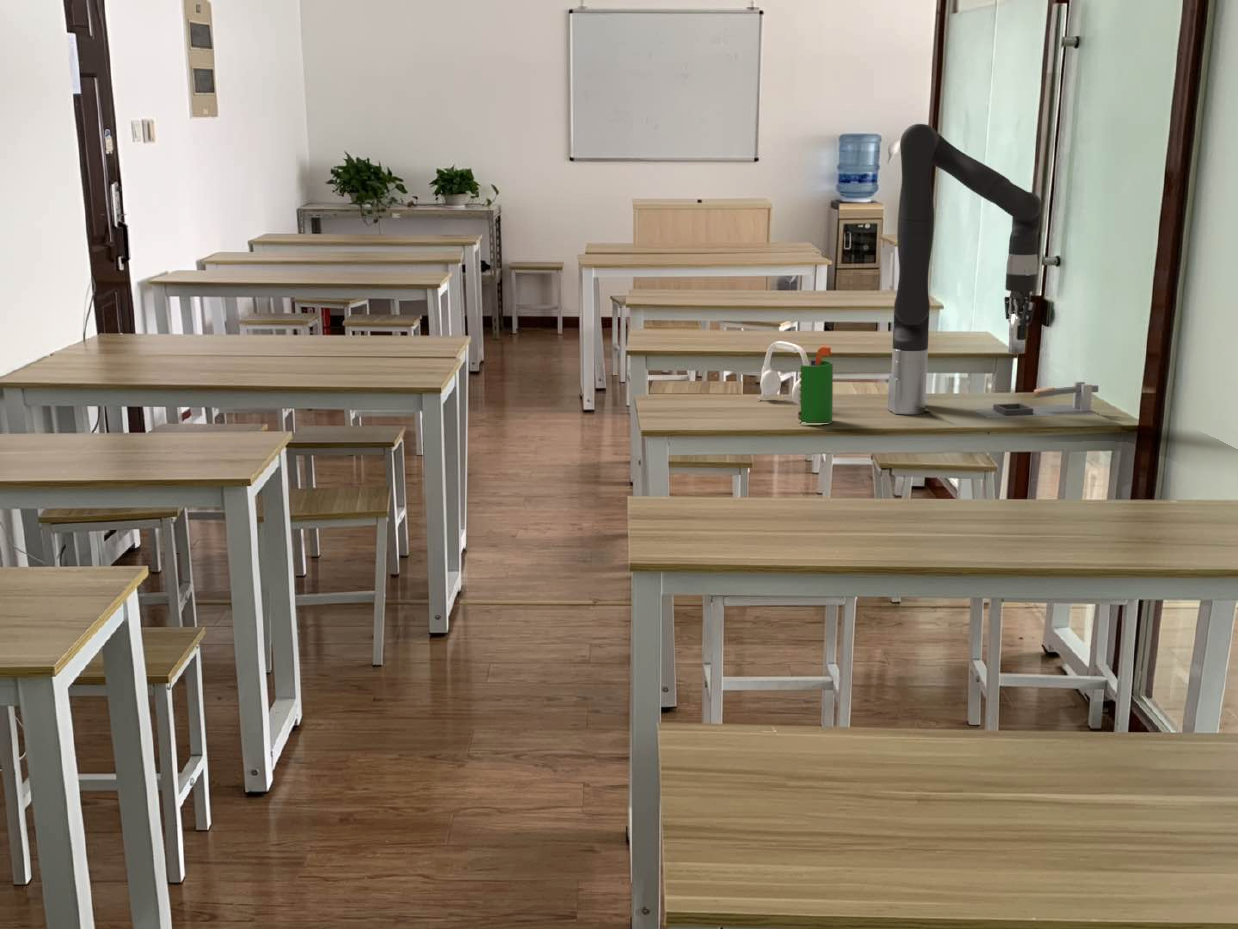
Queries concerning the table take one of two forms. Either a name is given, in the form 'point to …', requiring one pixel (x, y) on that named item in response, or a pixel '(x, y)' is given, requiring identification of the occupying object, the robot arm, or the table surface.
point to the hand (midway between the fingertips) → (1017, 338)
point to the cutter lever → (1060, 391)
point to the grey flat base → (1044, 407)
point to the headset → (771, 378)
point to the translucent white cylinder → (1015, 338)
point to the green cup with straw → (817, 389)
